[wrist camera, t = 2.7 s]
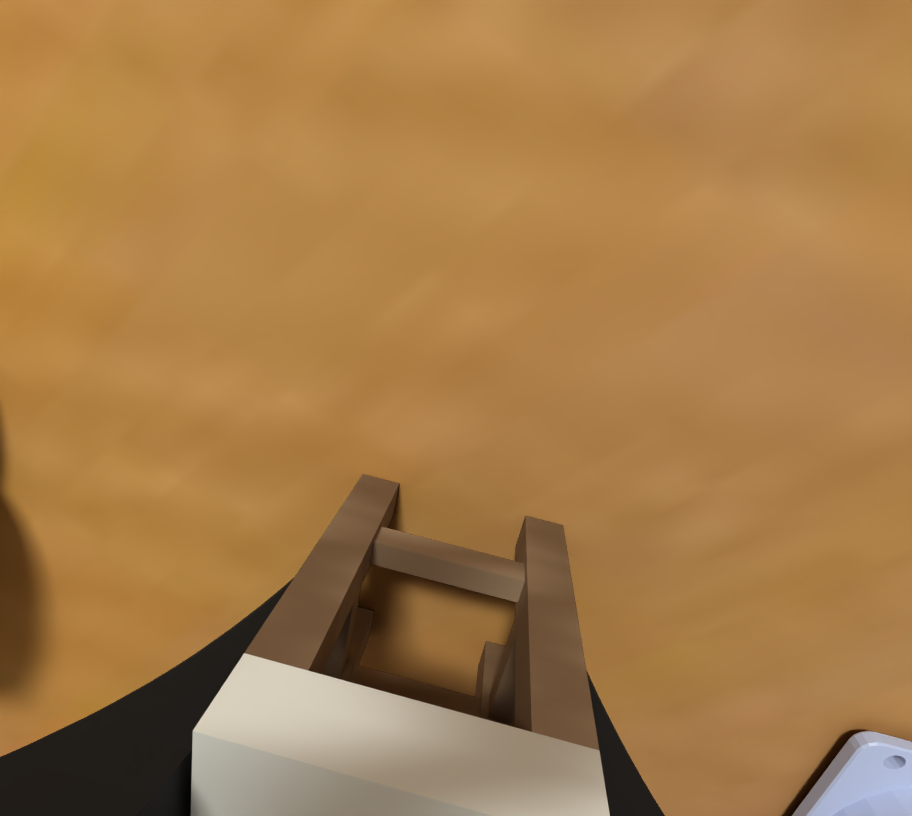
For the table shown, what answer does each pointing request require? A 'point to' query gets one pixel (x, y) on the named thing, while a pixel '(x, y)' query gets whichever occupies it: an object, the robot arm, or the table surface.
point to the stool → (405, 692)
